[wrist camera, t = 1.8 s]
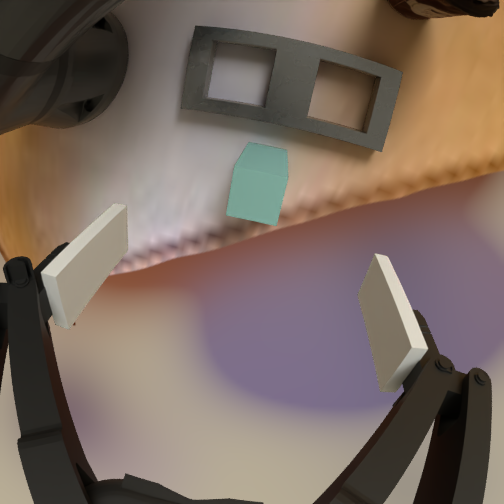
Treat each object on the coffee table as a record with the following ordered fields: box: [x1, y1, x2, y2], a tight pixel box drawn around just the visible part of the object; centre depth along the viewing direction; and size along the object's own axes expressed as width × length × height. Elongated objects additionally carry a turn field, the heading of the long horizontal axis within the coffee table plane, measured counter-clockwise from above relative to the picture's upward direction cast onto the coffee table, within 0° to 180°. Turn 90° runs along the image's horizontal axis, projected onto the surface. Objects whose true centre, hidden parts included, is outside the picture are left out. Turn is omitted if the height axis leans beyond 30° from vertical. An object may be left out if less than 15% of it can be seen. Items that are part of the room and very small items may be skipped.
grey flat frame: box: [181, 26, 403, 152], centre depth 27 cm, size 20×9×2 cm, turn 79°
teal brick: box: [226, 142, 288, 226], centre depth 28 cm, size 4×4×10 cm
